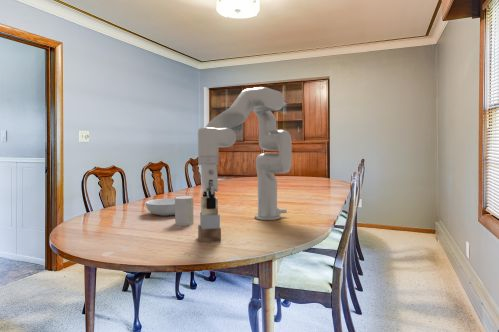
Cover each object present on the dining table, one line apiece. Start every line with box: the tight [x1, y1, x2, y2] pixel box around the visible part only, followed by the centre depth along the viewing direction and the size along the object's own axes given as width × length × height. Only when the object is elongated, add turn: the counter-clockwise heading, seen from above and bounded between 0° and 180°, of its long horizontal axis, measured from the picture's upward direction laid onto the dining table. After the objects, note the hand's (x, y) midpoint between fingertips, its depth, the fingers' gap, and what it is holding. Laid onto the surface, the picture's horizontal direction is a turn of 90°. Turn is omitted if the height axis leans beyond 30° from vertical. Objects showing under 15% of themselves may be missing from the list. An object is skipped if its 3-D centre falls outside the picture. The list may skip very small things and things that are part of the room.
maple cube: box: [200, 196, 219, 215], centre depth 121 cm, size 6×6×6 cm
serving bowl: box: [145, 198, 175, 217], centre depth 168 cm, size 21×21×7 cm
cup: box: [174, 195, 195, 227], centre depth 146 cm, size 8×8×12 cm
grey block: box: [199, 211, 221, 229], centre depth 121 cm, size 6×6×5 cm
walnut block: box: [197, 224, 222, 244], centre depth 121 cm, size 8×8×5 cm
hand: (209, 206), depth 121 cm, fingers open, 9 cm apart
